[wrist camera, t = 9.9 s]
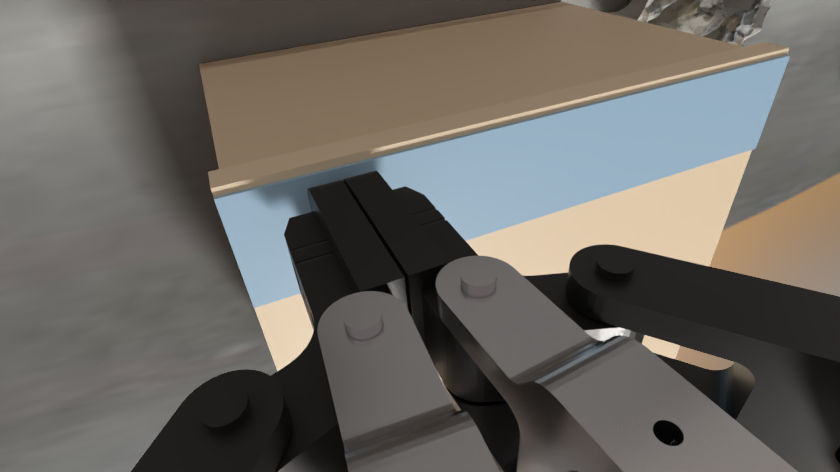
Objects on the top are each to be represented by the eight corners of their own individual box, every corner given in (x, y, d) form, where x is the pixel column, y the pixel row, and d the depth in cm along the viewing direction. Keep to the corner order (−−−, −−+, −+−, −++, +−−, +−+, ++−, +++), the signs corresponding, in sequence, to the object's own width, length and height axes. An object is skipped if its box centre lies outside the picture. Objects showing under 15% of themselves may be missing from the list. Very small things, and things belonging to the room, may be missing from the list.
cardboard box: (561, 1, 22) (757, 50, 15) (535, 268, 32) (648, 379, 24) (198, 64, 18) (220, 178, 10) (293, 353, 27) (341, 522, 20)
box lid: (764, 42, 15) (792, 48, 14) (651, 378, 24) (665, 391, 24) (207, 171, 10) (210, 190, 10) (336, 524, 20) (342, 547, 19)
